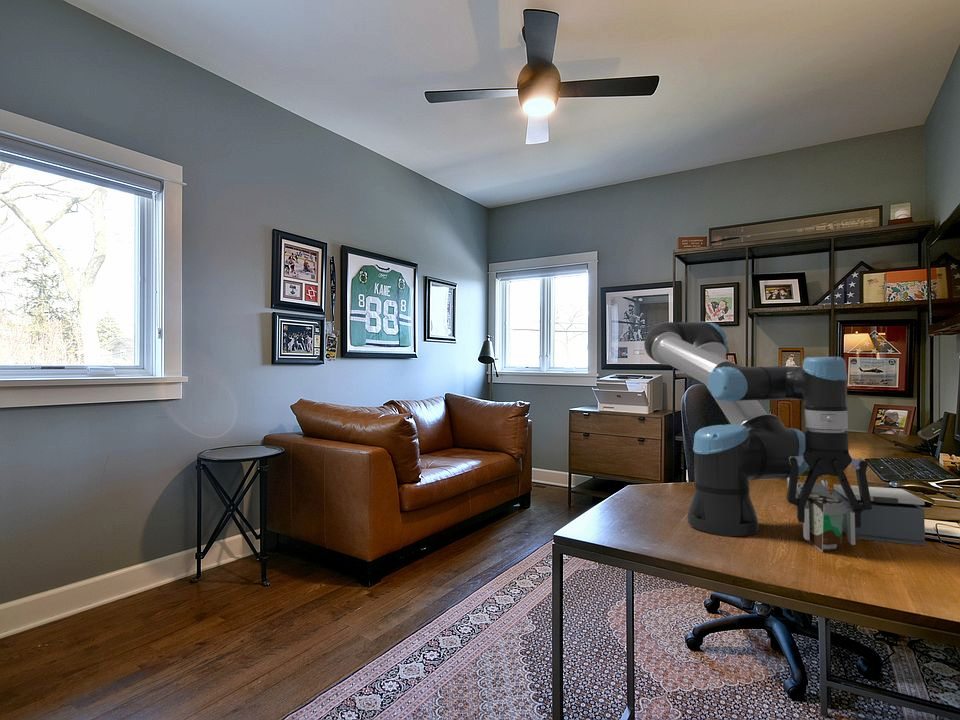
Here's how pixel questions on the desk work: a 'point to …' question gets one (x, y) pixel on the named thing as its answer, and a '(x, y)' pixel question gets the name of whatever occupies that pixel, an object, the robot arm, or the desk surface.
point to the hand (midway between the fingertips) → (828, 540)
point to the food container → (825, 521)
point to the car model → (816, 488)
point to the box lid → (885, 495)
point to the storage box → (889, 522)
